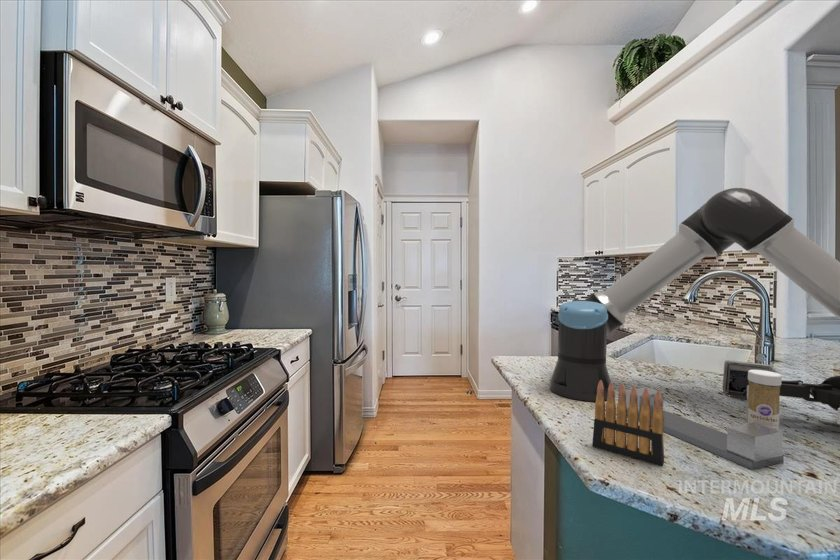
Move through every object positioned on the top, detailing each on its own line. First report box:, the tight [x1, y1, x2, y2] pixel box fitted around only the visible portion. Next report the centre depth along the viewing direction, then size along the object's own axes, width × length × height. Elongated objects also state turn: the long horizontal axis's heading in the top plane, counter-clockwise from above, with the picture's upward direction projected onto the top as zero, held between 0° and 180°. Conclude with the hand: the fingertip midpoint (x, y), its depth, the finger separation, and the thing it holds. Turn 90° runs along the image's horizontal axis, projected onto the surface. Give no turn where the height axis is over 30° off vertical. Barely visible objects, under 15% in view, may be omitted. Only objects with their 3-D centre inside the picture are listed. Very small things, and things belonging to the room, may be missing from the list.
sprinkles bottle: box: [746, 370, 783, 431], centre depth 69 cm, size 5×5×14 cm
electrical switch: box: [722, 359, 773, 399], centre depth 96 cm, size 9×5×9 cm, turn 57°
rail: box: [625, 387, 785, 470], centre depth 73 cm, size 25×8×5 cm, turn 19°
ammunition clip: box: [591, 380, 665, 467], centre depth 65 cm, size 11×2×12 cm, turn 52°
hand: (790, 403), depth 71 cm, fingers open, 13 cm apart
